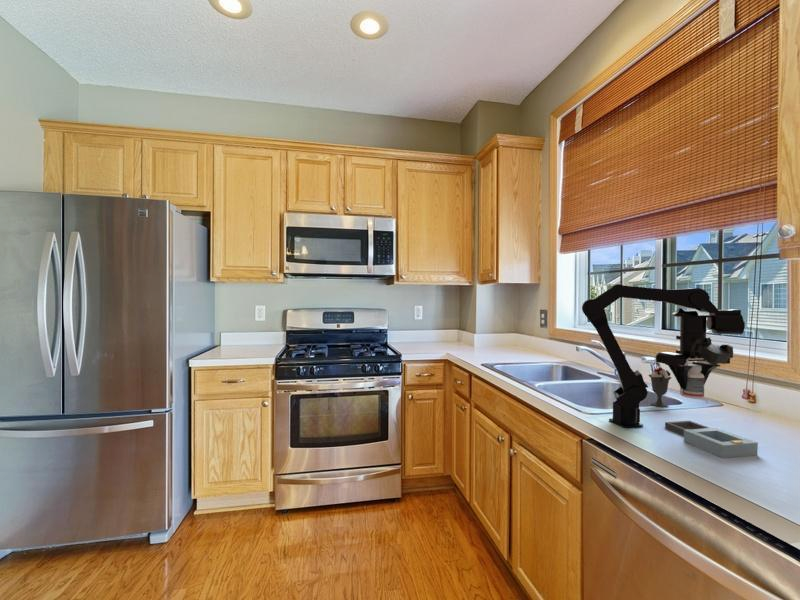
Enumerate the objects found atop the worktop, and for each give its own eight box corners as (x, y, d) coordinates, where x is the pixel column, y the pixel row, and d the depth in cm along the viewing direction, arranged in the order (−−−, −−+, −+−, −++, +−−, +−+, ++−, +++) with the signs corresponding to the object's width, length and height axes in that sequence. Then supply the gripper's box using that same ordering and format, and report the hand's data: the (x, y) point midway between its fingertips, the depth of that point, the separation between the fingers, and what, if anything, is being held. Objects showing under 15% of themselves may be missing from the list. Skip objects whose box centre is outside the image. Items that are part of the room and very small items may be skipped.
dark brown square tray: (692, 439, 98) (693, 433, 98) (665, 427, 107) (665, 422, 106) (718, 437, 100) (719, 431, 100) (689, 425, 108) (689, 420, 108)
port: (723, 458, 87) (723, 444, 87) (683, 441, 97) (683, 428, 97) (757, 454, 89) (757, 441, 89) (715, 438, 99) (715, 426, 98)
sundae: (648, 406, 127) (648, 362, 127) (647, 401, 133) (648, 360, 132) (671, 409, 123) (672, 365, 123) (670, 404, 129) (671, 361, 129)
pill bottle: (708, 399, 100) (709, 367, 100) (686, 398, 101) (687, 366, 101) (696, 394, 105) (697, 363, 105) (676, 393, 106) (676, 362, 106)
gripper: (692, 337, 93) (691, 398, 93) (752, 335, 96) (751, 394, 97) (654, 332, 104) (653, 387, 104) (709, 331, 107) (708, 384, 108)
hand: (692, 388), depth 103 cm, fingers closed on pill bottle, 5 cm apart
